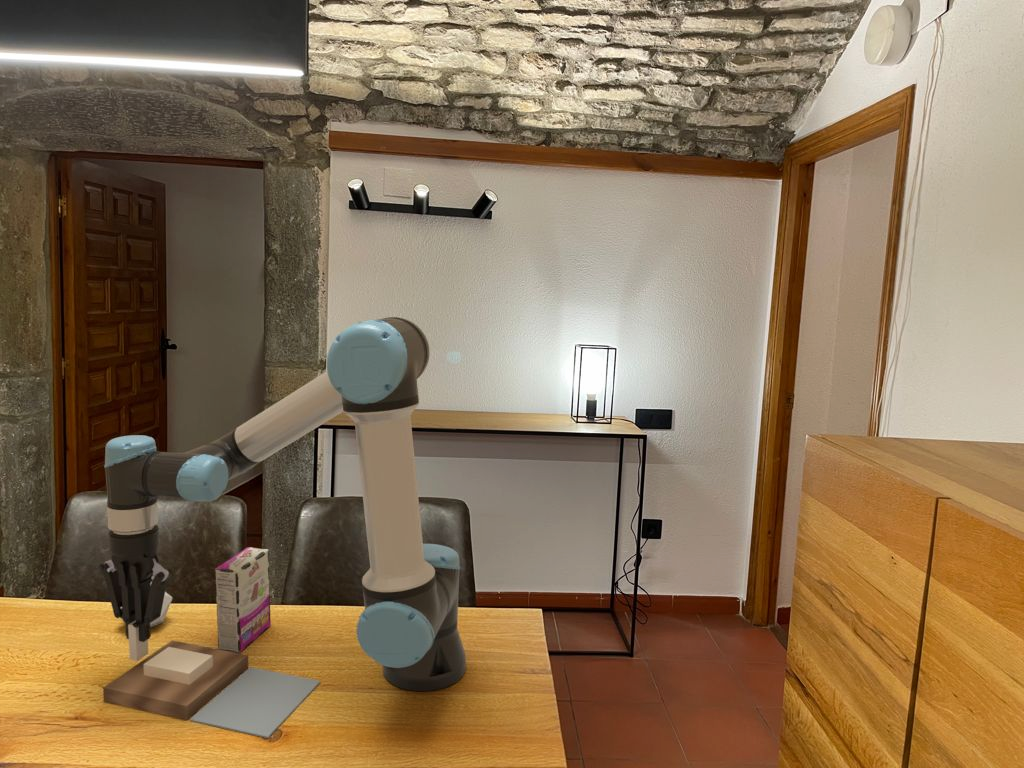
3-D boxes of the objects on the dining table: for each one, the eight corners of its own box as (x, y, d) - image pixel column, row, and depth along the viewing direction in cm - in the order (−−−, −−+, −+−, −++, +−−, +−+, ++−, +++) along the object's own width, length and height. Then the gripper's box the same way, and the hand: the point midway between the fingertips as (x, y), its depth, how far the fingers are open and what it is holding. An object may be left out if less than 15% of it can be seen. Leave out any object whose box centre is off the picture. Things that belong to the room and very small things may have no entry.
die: (109, 637, 138) (125, 607, 134) (119, 598, 145) (134, 568, 141) (156, 643, 142) (172, 615, 138) (163, 605, 149) (179, 576, 145)
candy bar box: (249, 622, 145) (247, 545, 142) (271, 626, 144) (270, 548, 141) (215, 650, 134) (213, 567, 132) (239, 654, 133) (238, 571, 131)
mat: (320, 682, 125) (320, 680, 125) (267, 738, 110) (267, 736, 110) (250, 668, 129) (250, 666, 129) (189, 720, 113) (189, 719, 113)
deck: (248, 668, 129) (247, 655, 128) (187, 720, 113) (186, 705, 113) (172, 652, 133) (172, 640, 132) (103, 701, 117) (103, 687, 117)
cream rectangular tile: (212, 666, 124) (212, 655, 124) (189, 684, 119) (189, 673, 118) (169, 657, 127) (168, 646, 126) (143, 675, 121) (143, 664, 120)
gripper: (182, 524, 123) (186, 652, 126) (118, 515, 126) (124, 640, 130) (149, 539, 116) (155, 674, 119) (83, 529, 119) (90, 661, 122)
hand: (139, 656), depth 124 cm, fingers closed
